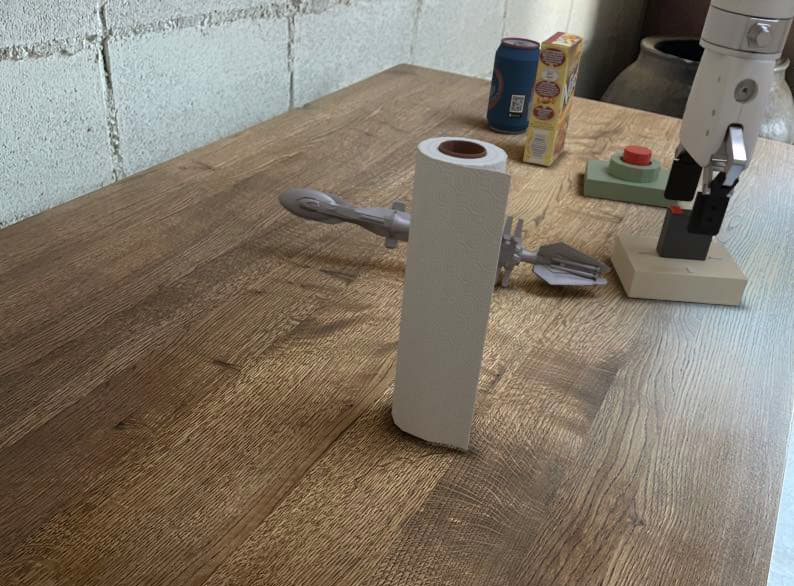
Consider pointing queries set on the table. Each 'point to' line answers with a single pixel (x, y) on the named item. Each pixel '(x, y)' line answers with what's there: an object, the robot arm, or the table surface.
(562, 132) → the candy box
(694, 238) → the hob knob
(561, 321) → the table surface
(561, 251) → the spaceship
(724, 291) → the panel
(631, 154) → the red push button
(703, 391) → the table surface
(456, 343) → the paper towel roll
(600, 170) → the switch box
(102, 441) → the table surface
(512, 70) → the soda can
